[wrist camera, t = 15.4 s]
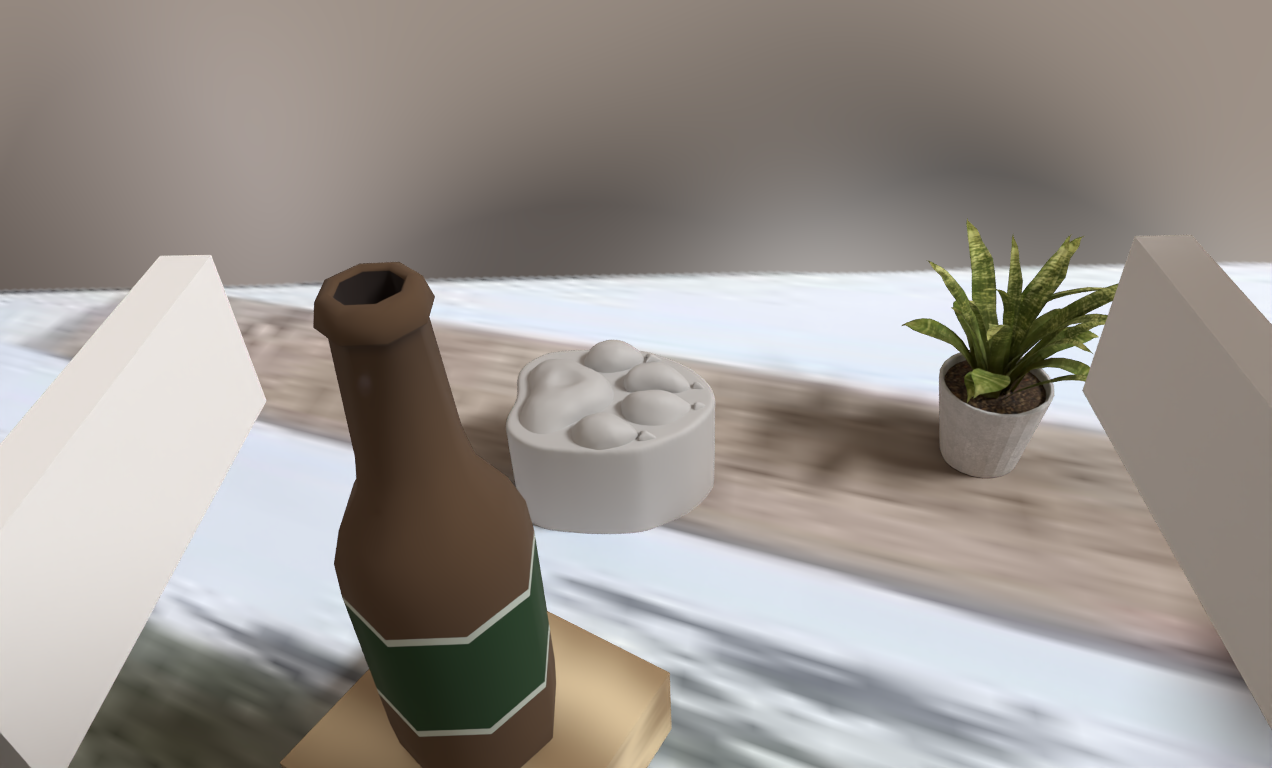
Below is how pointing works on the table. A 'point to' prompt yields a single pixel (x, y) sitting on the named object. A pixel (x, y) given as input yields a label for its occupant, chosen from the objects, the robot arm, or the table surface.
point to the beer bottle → (433, 541)
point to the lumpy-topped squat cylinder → (611, 439)
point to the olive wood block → (583, 719)
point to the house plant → (1006, 357)
